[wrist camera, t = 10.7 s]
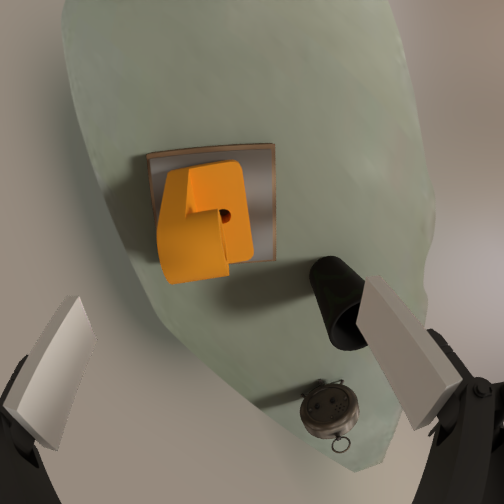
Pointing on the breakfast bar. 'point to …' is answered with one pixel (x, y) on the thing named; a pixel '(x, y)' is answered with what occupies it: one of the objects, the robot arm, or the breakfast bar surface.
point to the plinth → (255, 180)
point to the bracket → (203, 222)
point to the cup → (339, 301)
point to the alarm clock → (330, 411)
